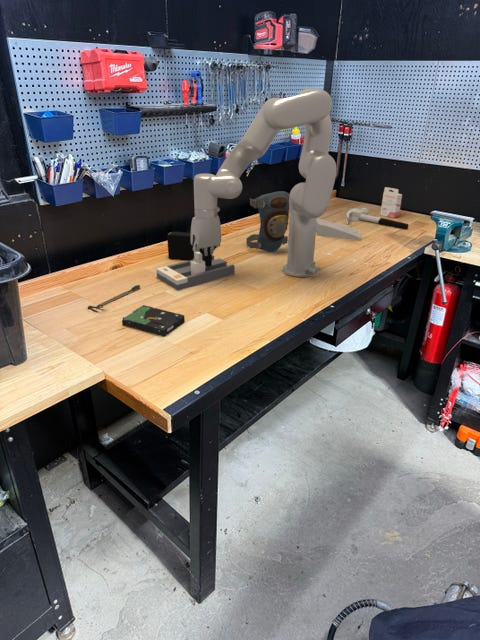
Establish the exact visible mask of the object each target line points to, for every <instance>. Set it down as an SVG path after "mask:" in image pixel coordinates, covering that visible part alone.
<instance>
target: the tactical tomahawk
mask: <svg viewBox="0 0 480 640" xmlns="http://www.w3.org/2000/svg"><path fill="white" fill-rule="evenodd" d="M140 288H141V285H140V284H137V285H134V286H132V288H131V289H130V290H126V291H124V292H122V293H120V294H118V295H115V296H113V297H111V298H109V299H107V300H105V301H103V302H101V303H99V304H97V305H96V306H92V305H88V306H87V310H90V311H92V312H94V313H99V311H98V310H100V311H103V309H102V308H104V306H106V305H108V304H110V303H111V304H112V303H113V302H115V301H117V300H119V299H122V298H124V297H125V296H128V295H130V294H133V293H134V292H136V290H138V289H140Z"/></svg>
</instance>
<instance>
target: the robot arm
mask: <svg viewBox="0 0 480 640" xmlns="http://www.w3.org/2000/svg"><path fill="white" fill-rule="evenodd" d="M332 107H333V100H332V97H331V95H330V93H328V92H327V91H325V90H323V89H320V88H305V89H302V90H300V91H299V92H298V93H297V95H293V96H288V97H281V98H280V97H272V98H269V99H268V100H266V101H265V102H264V104H263V105H262V106H261V108H260V110H259V111H258V112H257V114H256V116H255V117H254V118H253V121H252V122H251V124H250V126H249V127H248V129H247V131H246V132H245V134H243V136H242V137H241V139H240V140H239V142H237V144H236V145H235V146H234V148H233V149H232V150H231V151H230V152H229V154H228V155H227V157H226V158H225V159H224V161H223V162H222V164H221V165H220V168H219V169H218V171H217V172H216V174H212V173H197V174H195V176H194V178H193V196H194V197H193V200H194V217H192V219H191V225H190V233H191V245H193V251H195V252H200V253H201V254H202V260H203V261H205V266H207V267H208V266H212V255H213V254H214V251H215V250H216V249H218V248H219V247H220V246H221V242H222V227H221V221H220V220H221V219H220V217H219V214H218V212H220V211H221V209H220V207H218V198H220V199H227V200H228V199H229V200H231V199H232V200H233V199H236V198H238V197H239V196H240V195H241V193H242V192H243V184H242V183H243V182H242V181H241V179H240V178H241V176H242V175H243V173H244V172H245V170H246V169H247V168H248V167H249V165H251V164H252V163H253V162H255V161H257V160H258V159H260V158H262V157H263V156H264V155H265V154H266V153H267V151H268V149H270V147H271V145H272V143H273V141H274V140H275V139H276V137H277V135H278V134H279V132H280V131H282V130H283V131H284V130H288V129H293V128H298V127H301V126H304V131H305V132H304V139H303V144H302V149H301V155H300V157H299V162H298V170H299V171H298V172H299V174H300V175H301V177H303V178H304V179H305V182H299V183H297V184H295V185H294V186H293V187H292V189H291V190H290V192H289V194H290V195H289V222H288V225H289V226H288V241H287V260H286V264H284V265H283V266H282V269H281V270H282V272H283V273H284V274H286V275H288V276H291V277H296V278H308V277H312V276H316V275H317V274H318V273H319V272H320V270H321V268H320V266H319V267H318V266H316V261H314V260H315V259H314V257H315V248H316V235H317V233H316V227H317V218H318V219H319V218H320V217H322V216H323V215H324V214H325V213H326V211H327V209H328V208H329V205H330V201H331V198H332V193H333V189H334V185H335V182H336V178H337V163H336V161H335V159H334V158H333V157H332V156H331V155H330V154H329V150H330V147H331V146H330V145H331V141H332V135H333V133H332V132H333V124H332V119H331V115H330V112H332Z"/></svg>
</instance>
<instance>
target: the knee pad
mask: <svg viewBox="0 0 480 640" xmlns="http://www.w3.org/2000/svg"><path fill="white" fill-rule="evenodd" d="M289 195H290V192H286V191H284V190H283V191H282V190H280V191H274V192H271V193H266V194H265V193H264V194H261V195H260V196H258V197H255V198H251V197H250V198H249V206H251V207H253V209H258V215H259V219H260V220H259V222H260V223H259V224H260V226H259V231H258V233H257V234H256V233H254V234H251V235H249V236H248V237H246V241H245V242H246V246H247V247H248V248H249V249H256V250H261V251H263V252H267V253H274V252H277V251H278V250H280V248H281V247H282V245H284V246H285V244H287V245H288V240H289V235H288V236H285V235H286V232H287V230H288V227H289V226H288V225H289V220H290V211H289ZM254 241H255V242H254Z"/></svg>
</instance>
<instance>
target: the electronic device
mask: <svg viewBox="0 0 480 640" xmlns="http://www.w3.org/2000/svg"><path fill="white" fill-rule="evenodd" d="M166 237H167V238H166V239H167V253H168V259H169V260H175V261H184V262H185V261H190V260H194V252H195V251H193V245H191V232H182V231H171V232H169V233H168V234H167V236H166Z"/></svg>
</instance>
